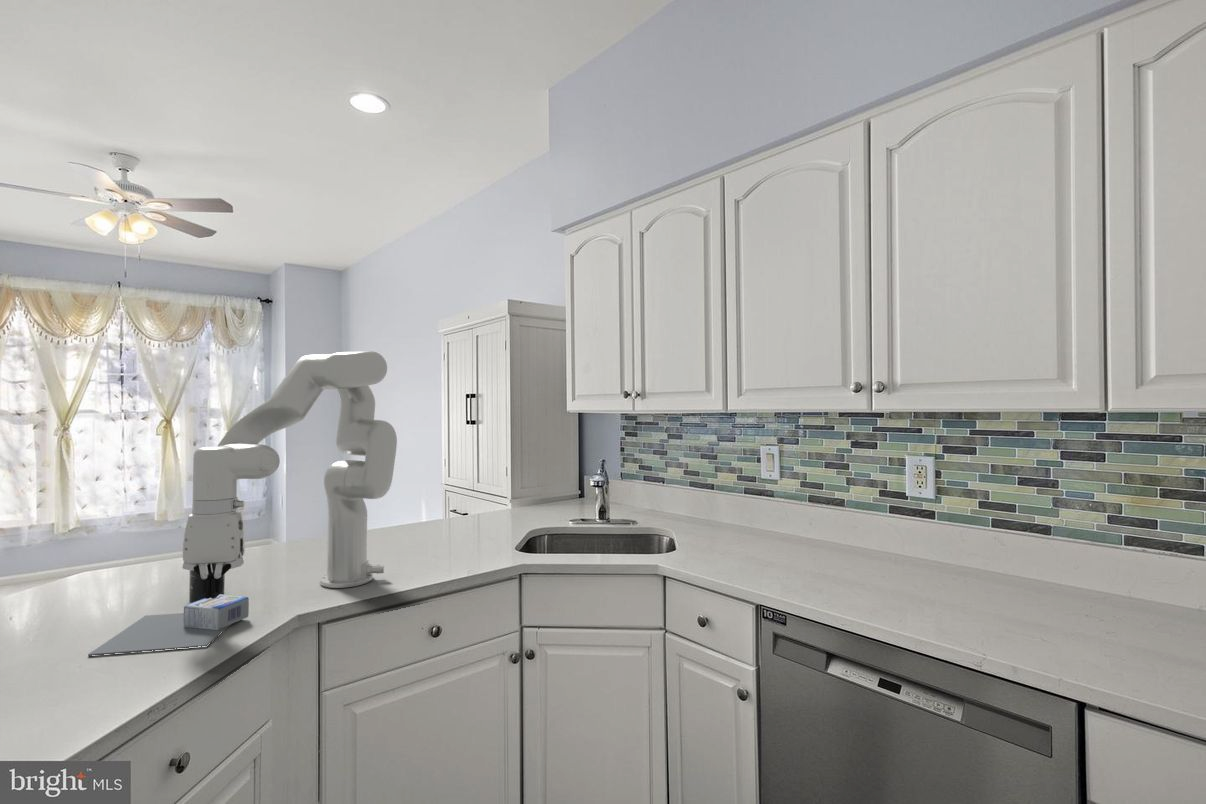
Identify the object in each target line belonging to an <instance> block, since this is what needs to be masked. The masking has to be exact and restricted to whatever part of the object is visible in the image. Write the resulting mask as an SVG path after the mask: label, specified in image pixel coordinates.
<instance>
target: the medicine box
mask: <svg viewBox="0 0 1206 804" xmlns="http://www.w3.org/2000/svg"><path fill="white" fill-rule="evenodd" d="M249 599H250V598H249V597H248V596H240V595H230V594H229V595H228V594H224V595H222V594H220V595H218V596H217V597H216V598H213V599H212V598H209V599H206V598H204V599H201V600H199V601H196V602H193V603H190V602H189V603H188V604H185V605H184V606H183V613H184V627H191V628H201V629H210V630H219V629H221V628H223V627H226V626H228V625H230V624H231V625H232V624H235V623H237V622H239V621H242V620H244V619H246V618H249V615H250V614H249V613H250V611H249V608H250V606H249V604H250V603H249V602H250V601H249ZM231 625H230V626H231Z"/></svg>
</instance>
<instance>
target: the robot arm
mask: <svg viewBox="0 0 1206 804" xmlns="http://www.w3.org/2000/svg"><path fill="white" fill-rule="evenodd" d="M387 372H388V363H387V360H386V359H385V357H384V356H383V355H381V353H378V352H376V351H371V350H370V351H369V350H368V351H363V350H362V351H340V352H334V353H323V354H322V353H321V354H320V353H319V354H318V353H317V354H308V355H304V356H301V357H300V358H299V359H298V360H296V362H295V363H294V365H293V366H292V367H291V369H289V371H288V372H287V374H285V377H284V378H283V379H282V380H281V382H280V383H279V385H278V386H277V387H276V389H275V391H274V392H273V393H272V394H271V396H270V397H269V398H268V399H267V400H266V401H265V402H263V403H261V404H260V405H258V406H257V407H255V408H254V409H252V410H251V411H250V412H248V413H247V414H246V415H244V416H243V417H241V418H240V419H239V420H238V421H237V422H236V423H235V424H233V425H232V426H231V427H230V428H229V430H228V431H227V432H226V433H225V434H224V436H223V438H221V440H220V442H219V443H218V444H217V445H216V446H203V447H200V448H197V449H196V450H195V451H194V453H193V458H192V459H193V461H192V463H193V466H192V467H193V469H192V470H193V471H192V513H191V514H189V515H188V518H187V521H186V525H185V529H184V533H183V542H182V561H183V564H182V566H181V567H182V569H183V570H185V571H186V570H187V571H190V570H192V571H195V572H196V573H198V574H199V575H200V576H201V578H202V579H204V580H203V593H204V594H206V596H205V598H206V599H209V598H212V599H213V598H216V597H217V596H218V595H220V593H221V592H222V590H223V575H224V574H225V575H226V574H227V572H229V571H230V570H231V569H235V568H240V567H242V566H243V565H244V564H245V563H244V558H243V556H244V555H245V552H246V540H245V539H246V538H245V529H244V521H243V515H242V512H241V511H240V510H239V511H237V510H238V508H244V506H245V501H244V500H241V499H239V498H238V496H237V494H238V492H237V487H238V480H247V479H248V480H262V479H266V478H268V477H270V476H272V475H273V474H274V473H275V472H276V471H277V470H278V469H279V466H280V462H281V461H280V455H279V454H278V451H276V450H275V449H274V448H273V447H271V446H269V445H265V444H259V443H261V441H263V440H264V439H265V438H268V436H271V435H272V434H274V433H276V432H278V431H282V430H283V429H286V428H289V427H292V426H293V425H296V424H298V423H300V422H301V421H303V420H304V419H305V417H306V416H307V414H308V413H309V412H310V410H311V409H312V407H313V406H314V404H315V402H316V401H317V400H318V398H319V397H320V396H321V394H322V392H323V391H324V390H337V391H338V394H339V398H340V410H339V418H338V425H337V431H336V440H335V442H336V447H337V449H338V451H339V452H340V453H342V454H345V455H349V456H359V457H361V456H362V457H363V456H364V460H354V459H344V460H338V461H336V462H333V463H331V464H330V465H329V466H328V467H327V469H326V471H324V472H325V473H324V476H323V486H324V489H325V495H326V502H327V543H326V544H327V548H326V550H327V551H326V552H327V553H326V558H327V559H326V575H323V576H322V577H321V578H320V579H319V584H320V585H321V586H323V587H325V588H332V589H340V588H341V589H342V588H345V589H346V588H353V587H358V586H361V585H365V584H368V583H369V582H371V581H372V580H373V574H378V575H379V574H384V573H385V565H381V564H374V565H373V564H370V560H369V559H368V558H367V556H368V552H367V551H368V549H367V548H368V510H367V506H366V503H365V500H366V499H368V500H378V499H381V498H383V497H385V496H386V494H387V493H388V492H389V490H390V488H391V486H392V482H393V478H394V477H393V476H394V471H395V470H394V468H395V463H396V456H397V448H398V447H397V445H398V438H397V433H396V430H395V427H394V426H393V425H392V424H391V423H390V422H388V421H386V420H381V419H375V411H376V400H375V395H374V393H373V390H372V389H371V388H370V386H372V385H377V384H379V383H380V382H381V381H383V380H384V379H385V377H386V376H387ZM364 499H365V500H364ZM212 564H216V568H215V573H214V575H213V570H212Z"/></svg>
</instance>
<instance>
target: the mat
mask: <svg viewBox="0 0 1206 804" xmlns="http://www.w3.org/2000/svg"><path fill="white" fill-rule="evenodd" d="M228 626H229V625H228ZM228 626H226V627H223V628H221V629H219V630H210V629H201V628H191V627H184V612H180V613H166V614H164V613H163V614H149V615H144V616H143V617H141V618H140V619H138V620H137V621H135V622H134V623H132V624H131V625H129V626H128V627H126V628H125V629H123V630H122V631H120V632H119V633H117V634H116V635H114V636H113V637H111V638H110V639H108V640H107V641H106V642H103V644H101V645H100V646H99V647H97V648H95V649H93V650H92V651H91V652H90V653H88V655H87V657H88V656H92V655H104V654H115V653H131V652H142V651H152V650H153V651H155V650H165V649H175V648H176V649H177V648H189V647H198V646H201V647H202V646H207V645H208V644H209V643H211V642H212V641H213V640H214V639H215V638H216V637H217V636H218V635H219V634H220V633H221V632H222V631H224V630H225V629H226V628H227V627H228ZM229 627H230V626H229ZM229 627H228V628H229ZM228 628H227V629H228ZM225 631H226V630H225ZM225 631H224V632H225ZM221 634H222V633H221ZM221 634H220V635H221ZM220 635H219V636H220ZM219 636H218V637H219ZM218 637H217V638H218ZM217 638H216V639H217ZM216 639H215V640H216ZM215 640H214V641H215ZM214 641H213V642H214ZM213 642H212V643H213ZM212 643H211V644H212Z"/></svg>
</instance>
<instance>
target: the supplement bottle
mask: <svg viewBox="0 0 1206 804" xmlns="http://www.w3.org/2000/svg"><path fill="white" fill-rule="evenodd" d="M215 568H216V564H212V570H213V575H214V573H215ZM225 575H226V573H225V574H224V575H223V590H222V592H221V593H220V594H222V595H225V583H226V581H225ZM203 580H204V579H202V578H201V576H200V575H199V574H198V573H196V572H195V571H192V570H189V582H188V583H189V584H188V585H189V586H188V587H189V588H188V589H189V593H188V594H189V595H188V597H189V599H188V600H189V604H190V603H193V602H196V601H199V600H201V599H204V598H205V596H206V594H204V593H203Z"/></svg>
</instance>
